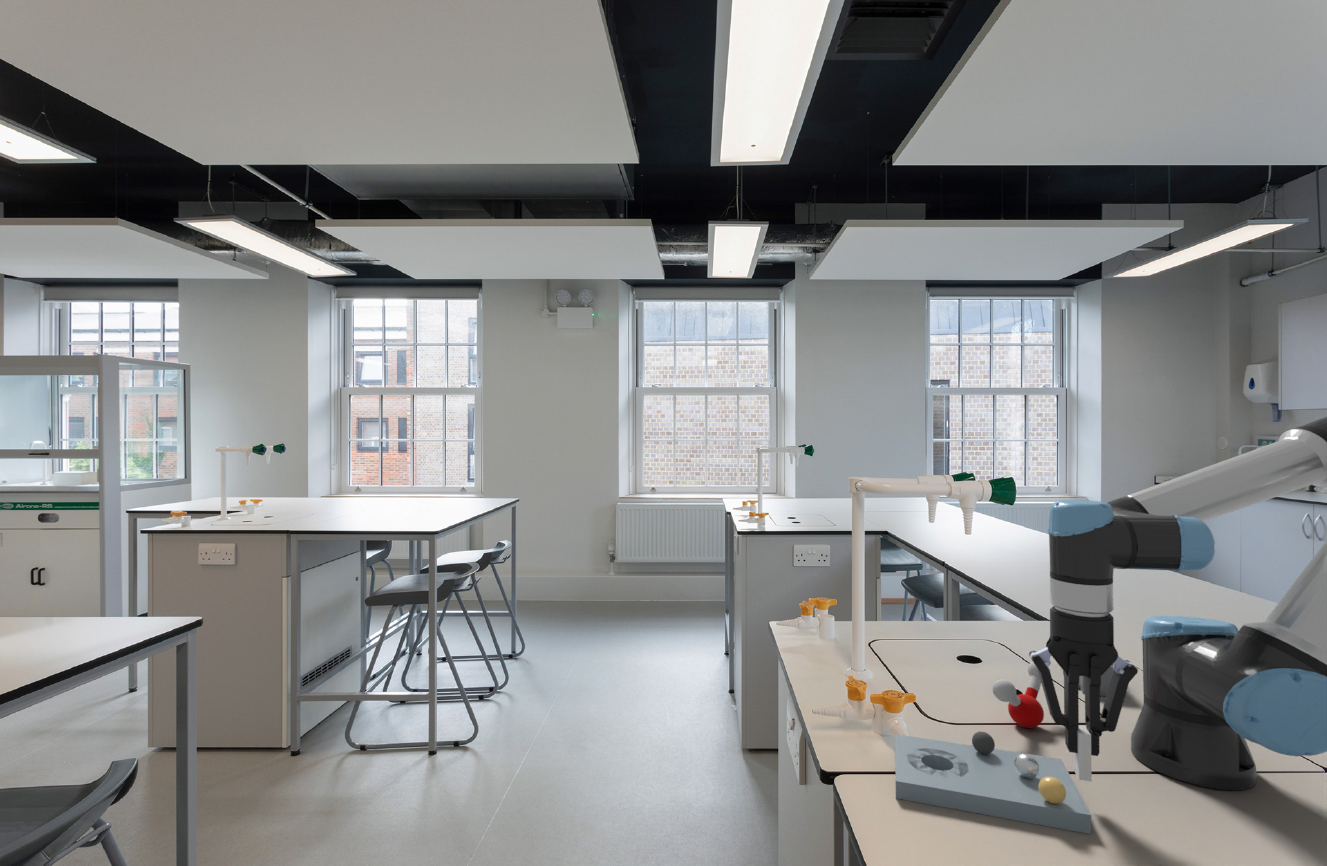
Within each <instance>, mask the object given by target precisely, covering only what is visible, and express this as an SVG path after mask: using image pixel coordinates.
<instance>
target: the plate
mask: <svg viewBox="0 0 1327 866" xmlns="http://www.w3.org/2000/svg"><path fill="white" fill-rule="evenodd" d="M894 744H895V745H894V746H895V747H894V748H895V749H894V750H895V751H894V752H895V753H894V754H895V755H894V758H895V763H894V764H895V799H897V800H902V801H910V802H915V803H919V804H925V805H931V806H937V807H941V808H942V807H943V808H947V809H952V810H957V811H964V812H967V813H975V814H978V815H979V814H980V815H985V816H991V817H994V818H1001V819H1007V820H1013V821H1018V822H1023V823H1027V824H1034V825H1039V826H1045V827H1051V828H1055V829H1061V830H1066V831H1072V832H1076V833H1077V832H1078V833H1083V834H1088V835H1092V815H1091V813H1090V811H1089V809H1088V807H1087V805H1086V803H1085V802H1084V800H1083V798H1082V796H1081V794H1080V791H1079V789H1078V788H1077V786H1076V784H1075V782H1074V781H1073V778H1072V776H1071V775H1070V773H1069V771H1068V769H1067V767H1066V765H1065V763H1064V761H1063V759H1062V758H1057V757H1051V756H1045V755H1036V754H1031V753H1027V754H1028V755H1031V756H1032V757H1034V758H1035V759H1036V761H1037V762H1038V764H1039V768H1040V770H1039V774H1038V775H1037V776H1036V777H1035V778H1031V779H1029V778H1025V777H1023V776H1021V775H1020V774H1019V773H1018V772H1017V771H1016V769H1015V766H1014V761H1015V758H1016V757H1017V756H1018V755H1020V754H1026V753H1023V752H1019V751H1012V750H1011V751H1010V750H1004V749H997V748H994V750H993V751H992V752H991V753H990V754H982V753H979V752H978V751H977V750H976V749H975V748H974V746H973V744H972V745H970V744H964V743H958V742H957V743H956V742H952V741H951V742H950V741H944V740H939V739H938V740H937V739H932V738H925V737H924V738H923V737H917V736H910V735H905V734H899V733H894ZM1044 777H1054V778H1056V779H1058V780H1059V781H1060V782H1061V783H1062V784H1063V785H1064V787H1065V789H1066V798H1065V800H1064V801H1063V802H1061V803H1059V804H1054V803H1050V802H1048V801H1047V800H1045V799H1044V798H1043V797H1042V795H1041V794H1040V791H1039V782H1040V780H1041V779H1042V778H1044Z"/></svg>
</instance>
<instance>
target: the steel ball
mask: <svg viewBox="0 0 1327 866" xmlns="http://www.w3.org/2000/svg"><path fill="white" fill-rule="evenodd" d="M1028 754H1029V753H1025V754H1020V755H1018V756H1017V757H1016V758H1015V761H1014V766H1015V769H1016V771H1017V772H1018V773H1019V774H1020V775H1021V776H1023V777H1025V778H1029V779H1031V778H1035V777H1036V776H1037V775H1038V774H1039V770H1040V768H1039V764H1038V762H1037V761H1036V759H1035V758H1034V757H1032V756H1031V755H1028Z"/></svg>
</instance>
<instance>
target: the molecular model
mask: <svg viewBox="0 0 1327 866" xmlns="http://www.w3.org/2000/svg"><path fill="white" fill-rule="evenodd" d="M1048 669H1049V671H1050V672H1051V669H1050V666H1048ZM1027 673H1028V675H1029V677H1030V679H1029V680H1028V684H1027V687H1026V689H1025V694H1024V693H1023V694H1022V693H1021V694H1020V693H1019V694H1017V689H1016V686H1015V685H1014V683H1012V682H1011V681H1009V680H1008V679H1004V678H1001V679H998V680H997V679H996V681H995V682H993V685H992V688H991V689H992V693H993V695H994V697H995V698H996V699H997V700H998V701H1000V702H1003V703H1008V705H1007V706H1008V707H1007V710H1008V714H1009V716H1010V718H1011V719H1012V720H1013V722H1015V724H1016V725H1019V726H1020V727H1022V728H1025V729H1033V728H1036V727H1039V726H1040V725H1041V724H1042V722H1043V720H1044V718H1045V716H1044V715H1045V713H1044V708H1043V707H1042V704H1041V703H1040V702H1039V701H1038V700H1037V698H1038V695H1039V692H1040V689H1041V685H1042V683H1041V679H1040V675H1039V672H1038V668H1037V667H1036V665H1035V664H1034V662H1033V661H1031V662H1029V664H1028V665H1027Z"/></svg>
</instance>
